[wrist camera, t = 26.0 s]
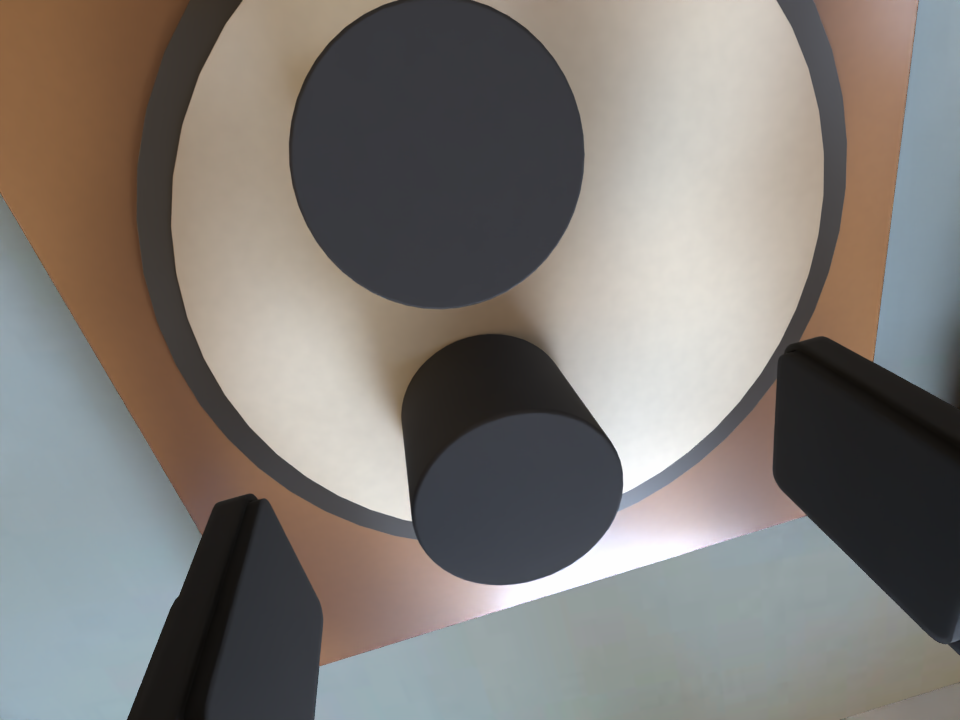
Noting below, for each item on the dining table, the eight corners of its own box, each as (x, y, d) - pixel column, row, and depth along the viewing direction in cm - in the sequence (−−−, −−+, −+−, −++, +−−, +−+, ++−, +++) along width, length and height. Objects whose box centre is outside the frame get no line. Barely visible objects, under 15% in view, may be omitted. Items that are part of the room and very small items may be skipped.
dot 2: (552, 312, 13) (613, 382, 9) (575, 453, 14) (634, 552, 11) (379, 360, 12) (383, 448, 9) (425, 497, 14) (441, 611, 11)
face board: (914, -439, 9) (994, -519, 8) (828, 477, 18) (860, 504, 17) (-201, -239, 8) (-300, -298, 7) (290, 641, 17) (284, 683, 16)
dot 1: (502, 5, 10) (564, -39, 7) (538, 226, 12) (600, 272, 9) (279, 57, 10) (236, 34, 6) (351, 274, 11) (344, 340, 8)
